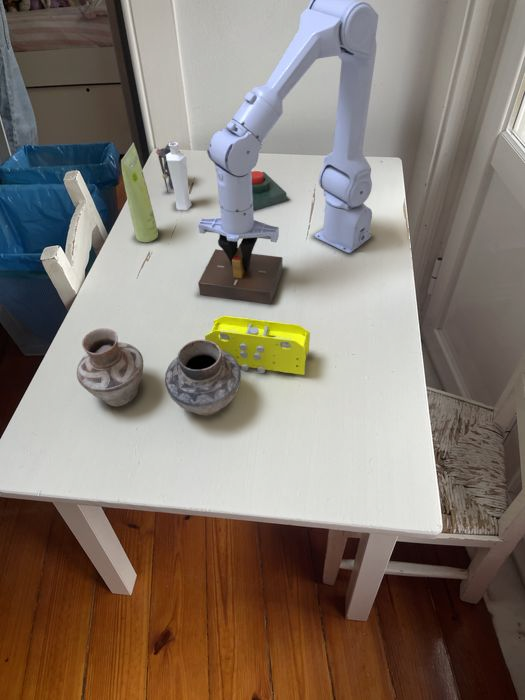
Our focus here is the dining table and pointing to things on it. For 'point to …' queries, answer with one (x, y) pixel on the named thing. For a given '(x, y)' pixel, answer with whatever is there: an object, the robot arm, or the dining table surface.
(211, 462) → the dining table surface
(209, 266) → the knob panel
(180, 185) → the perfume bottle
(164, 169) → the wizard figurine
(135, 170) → the tube
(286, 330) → the yellow toy chassis
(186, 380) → the twin painted vases
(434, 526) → the dining table surface
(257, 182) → the button
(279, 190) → the box
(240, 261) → the wooden block
